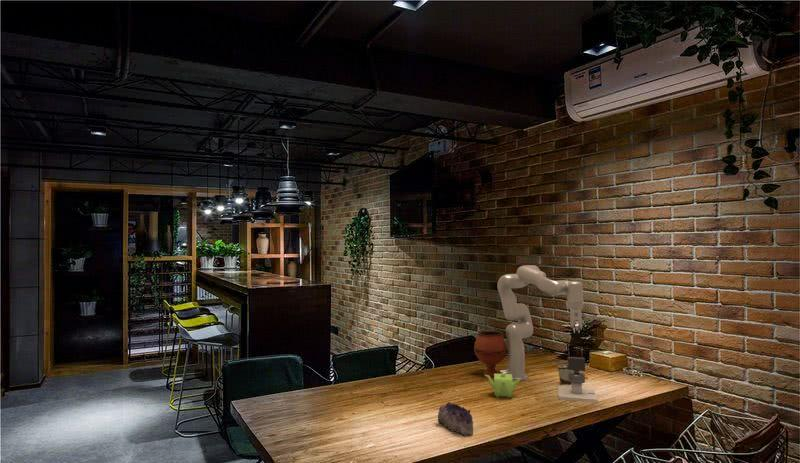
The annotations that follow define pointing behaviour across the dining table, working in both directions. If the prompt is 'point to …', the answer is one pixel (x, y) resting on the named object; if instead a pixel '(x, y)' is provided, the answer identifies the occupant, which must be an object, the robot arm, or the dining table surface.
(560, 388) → the post base
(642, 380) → the dining table surface
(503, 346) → the goblet
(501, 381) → the kettle
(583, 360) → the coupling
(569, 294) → the robot arm
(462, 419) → the geode
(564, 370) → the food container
